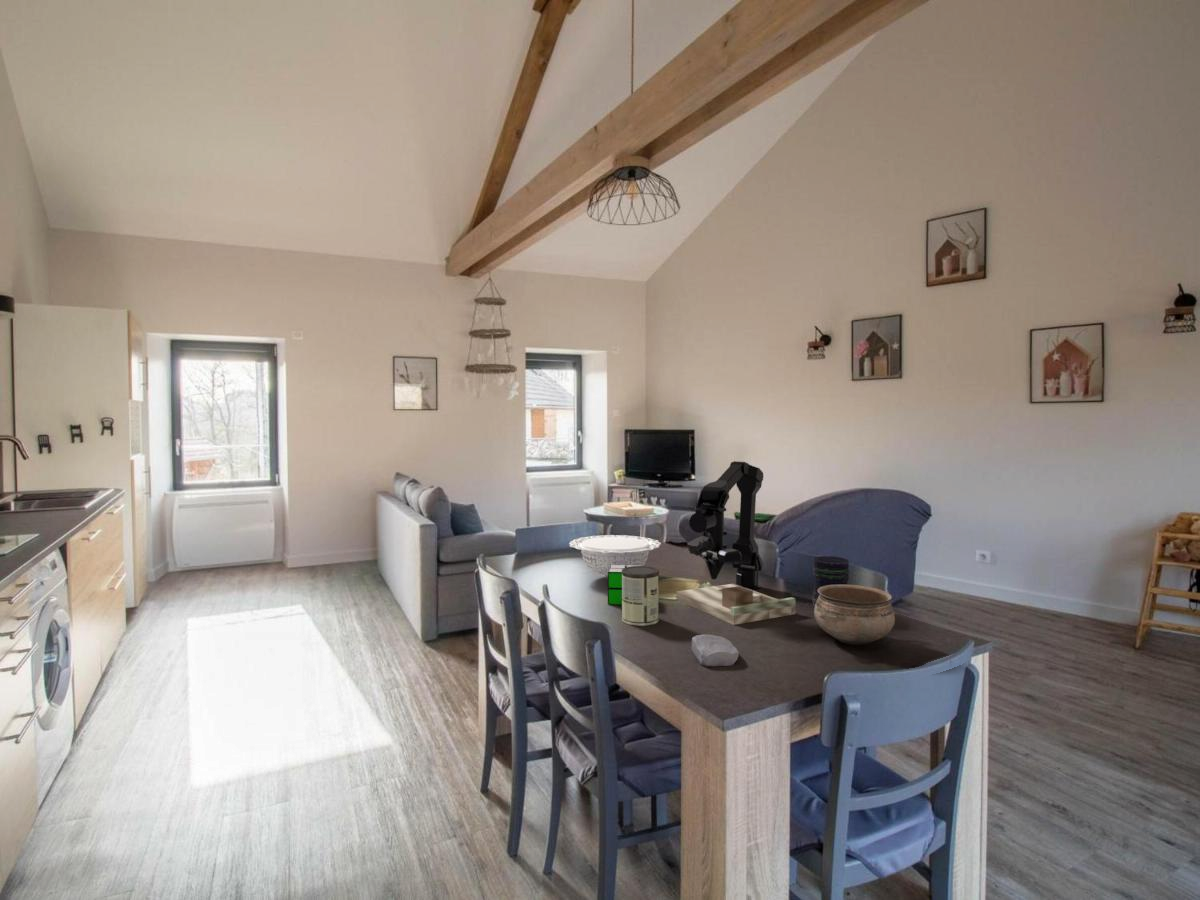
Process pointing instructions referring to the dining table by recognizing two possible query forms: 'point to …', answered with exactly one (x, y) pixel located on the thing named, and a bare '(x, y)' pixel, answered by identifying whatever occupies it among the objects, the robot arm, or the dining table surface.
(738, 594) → the walnut block
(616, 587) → the puzzle cube
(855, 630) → the cooking pot
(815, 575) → the storage jar
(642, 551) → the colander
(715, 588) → the trap deck
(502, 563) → the dining table surface
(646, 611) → the coffee can
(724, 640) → the stone block
